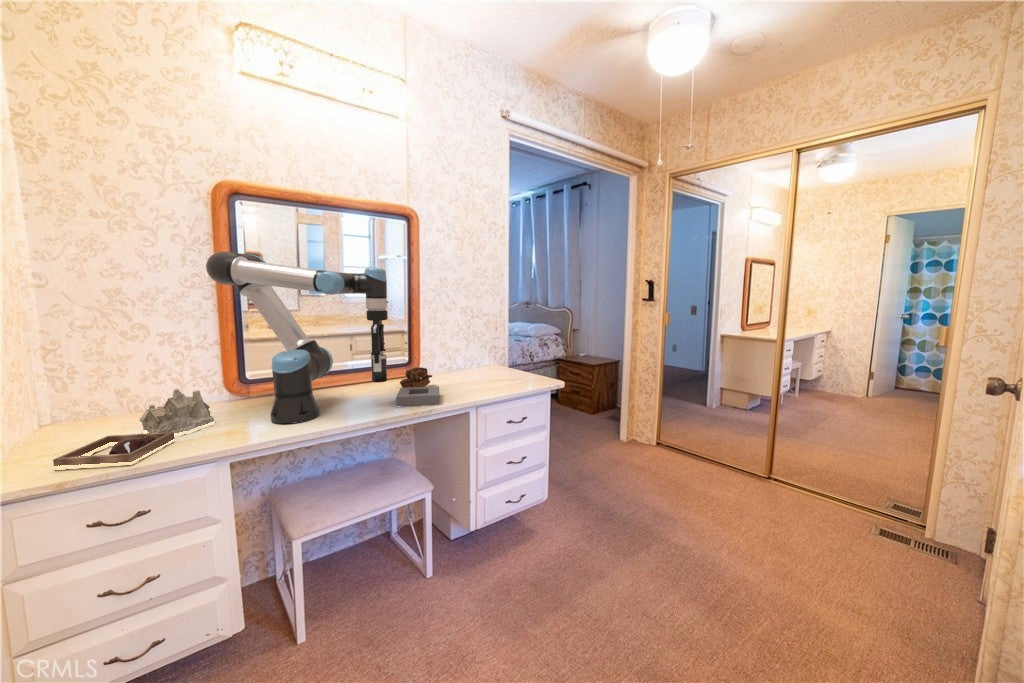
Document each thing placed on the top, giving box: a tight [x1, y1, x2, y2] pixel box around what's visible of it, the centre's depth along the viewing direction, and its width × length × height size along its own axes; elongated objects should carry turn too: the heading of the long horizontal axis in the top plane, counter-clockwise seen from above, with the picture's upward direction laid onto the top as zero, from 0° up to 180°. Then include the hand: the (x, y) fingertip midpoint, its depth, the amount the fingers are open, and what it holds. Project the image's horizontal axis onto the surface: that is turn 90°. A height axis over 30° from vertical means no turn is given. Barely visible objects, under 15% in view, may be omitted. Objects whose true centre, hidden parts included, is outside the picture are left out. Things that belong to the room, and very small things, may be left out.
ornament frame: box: [52, 432, 175, 467], centre depth 106 cm, size 17×16×3 cm
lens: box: [370, 353, 388, 383], centre depth 148 cm, size 6×6×10 cm
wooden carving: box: [399, 366, 433, 388], centre depth 174 cm, size 16×5×10 cm, turn 143°
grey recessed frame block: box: [395, 385, 440, 407], centre depth 156 cm, size 16×14×4 cm
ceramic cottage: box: [139, 388, 215, 433], centre depth 125 cm, size 16×16×15 cm
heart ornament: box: [108, 436, 156, 455], centre depth 107 cm, size 6×12×11 cm
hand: (379, 369), depth 148 cm, fingers closed on lens, 6 cm apart
